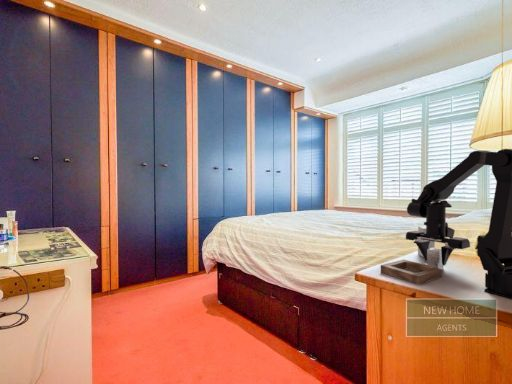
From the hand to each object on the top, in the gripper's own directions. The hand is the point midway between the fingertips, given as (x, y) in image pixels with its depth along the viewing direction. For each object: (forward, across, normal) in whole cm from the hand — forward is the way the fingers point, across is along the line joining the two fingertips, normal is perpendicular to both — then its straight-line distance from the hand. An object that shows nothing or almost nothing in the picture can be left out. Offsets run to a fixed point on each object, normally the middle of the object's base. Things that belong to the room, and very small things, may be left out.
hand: (435, 263), depth 96 cm
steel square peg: (+2, 0, 0) cm, 2 cm away
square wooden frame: (+2, +1, +13) cm, 13 cm away
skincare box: (+2, +11, -14) cm, 18 cm away
